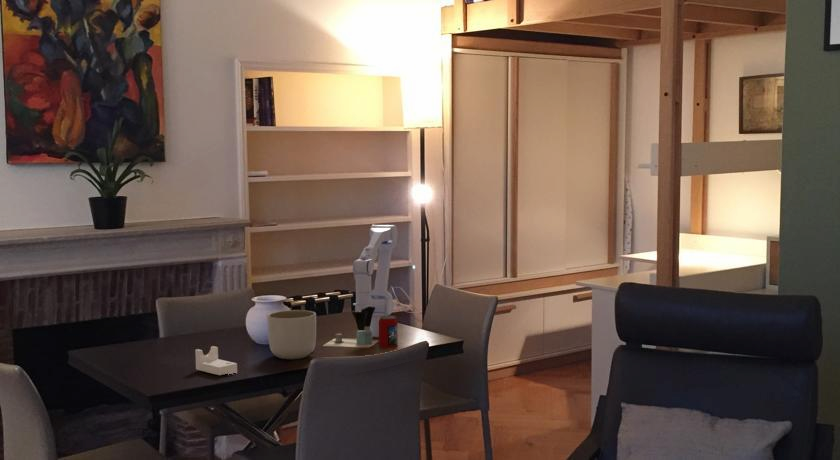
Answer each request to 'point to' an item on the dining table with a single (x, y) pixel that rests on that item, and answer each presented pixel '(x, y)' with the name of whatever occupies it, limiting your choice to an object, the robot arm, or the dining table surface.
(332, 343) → the stud plate
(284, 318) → the planter
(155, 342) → the dining table surface
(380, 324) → the beverage can
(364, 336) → the cap
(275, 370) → the dining table surface
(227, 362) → the bracket
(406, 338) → the dining table surface
